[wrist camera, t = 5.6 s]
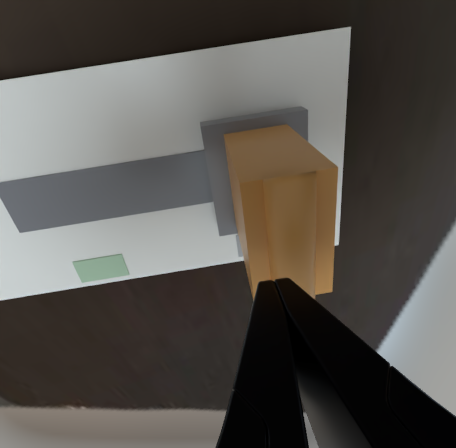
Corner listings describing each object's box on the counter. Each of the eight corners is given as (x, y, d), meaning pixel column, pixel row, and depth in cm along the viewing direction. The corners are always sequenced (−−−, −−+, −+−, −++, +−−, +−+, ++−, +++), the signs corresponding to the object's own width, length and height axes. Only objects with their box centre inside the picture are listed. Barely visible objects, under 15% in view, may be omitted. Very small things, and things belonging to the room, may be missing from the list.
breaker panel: (333, 28, 16) (351, 26, 14) (327, 229, 22) (339, 245, 20) (-101, 95, 15) (-140, 102, 14) (14, 280, 21) (-3, 301, 20)
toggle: (301, 106, 15) (387, 153, 8) (302, 213, 18) (366, 312, 11) (200, 122, 15) (204, 183, 8) (218, 227, 18) (232, 334, 11)
